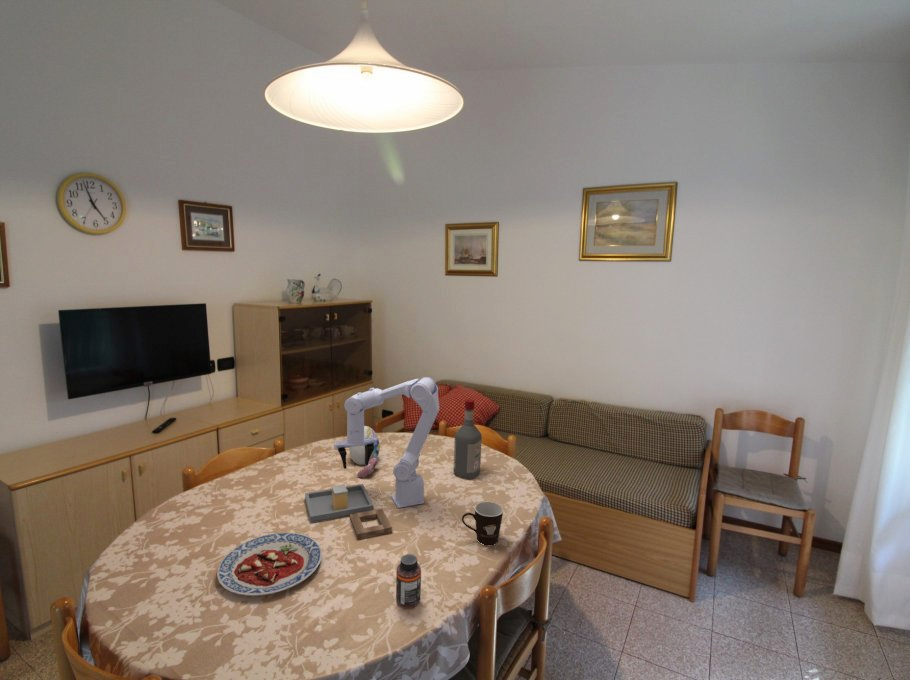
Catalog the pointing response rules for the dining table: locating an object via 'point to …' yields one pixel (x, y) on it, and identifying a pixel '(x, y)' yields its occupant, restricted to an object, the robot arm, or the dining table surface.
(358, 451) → the decorative egg
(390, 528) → the socket
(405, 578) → the supplement bottle
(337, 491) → the block
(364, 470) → the video game controller
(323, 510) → the parts tray
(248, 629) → the dining table surface
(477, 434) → the liquor
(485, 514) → the coffee mug
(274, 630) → the dining table surface
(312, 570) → the ceramic plate
